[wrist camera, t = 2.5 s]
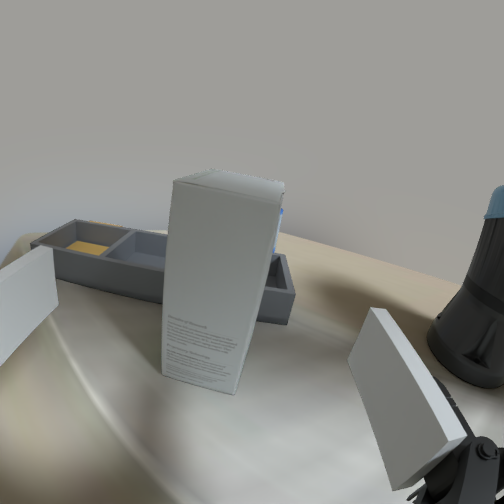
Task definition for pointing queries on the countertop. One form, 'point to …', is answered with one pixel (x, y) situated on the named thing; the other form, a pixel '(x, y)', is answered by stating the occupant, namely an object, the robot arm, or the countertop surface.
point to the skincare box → (216, 274)
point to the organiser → (142, 265)
